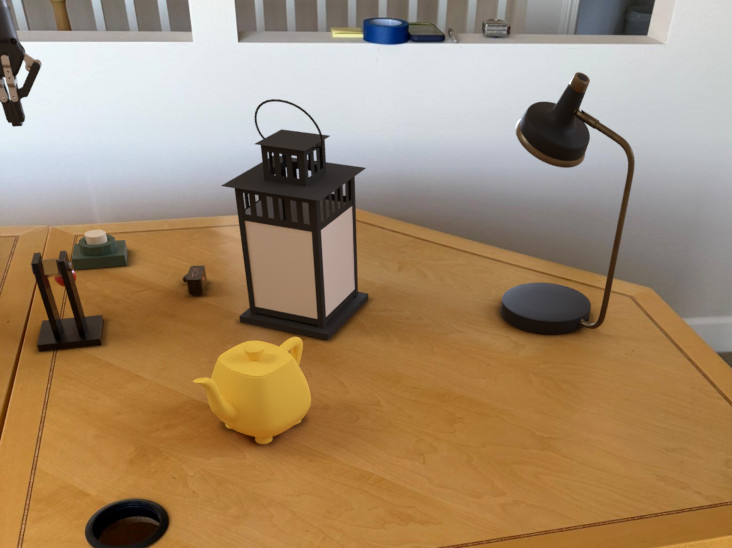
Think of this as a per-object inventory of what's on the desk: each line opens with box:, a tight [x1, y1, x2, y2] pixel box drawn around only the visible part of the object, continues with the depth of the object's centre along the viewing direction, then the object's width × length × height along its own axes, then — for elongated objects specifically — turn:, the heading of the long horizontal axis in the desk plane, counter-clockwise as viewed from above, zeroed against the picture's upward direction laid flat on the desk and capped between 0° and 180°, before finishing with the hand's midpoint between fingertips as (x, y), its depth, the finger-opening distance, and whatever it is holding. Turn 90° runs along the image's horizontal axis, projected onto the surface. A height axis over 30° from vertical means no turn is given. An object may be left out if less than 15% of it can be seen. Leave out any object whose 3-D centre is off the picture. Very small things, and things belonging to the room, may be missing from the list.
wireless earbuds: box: [182, 265, 208, 296], centre depth 146 cm, size 5×7×3 cm, turn 3°
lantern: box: [221, 98, 369, 341], centre depth 129 cm, size 17×17×35 cm
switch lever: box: [42, 257, 77, 288], centre depth 129 cm, size 13×4×4 cm
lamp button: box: [84, 229, 107, 245], centre depth 153 cm, size 4×4×2 cm
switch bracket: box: [30, 250, 105, 352], centre depth 128 cm, size 9×10×14 cm
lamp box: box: [71, 233, 129, 271], centre depth 155 cm, size 10×8×4 cm
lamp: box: [499, 71, 636, 336], centre depth 127 cm, size 16×22×38 cm
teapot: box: [192, 336, 312, 445], centre depth 109 cm, size 13×20×12 cm
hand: (18, 125), depth 132 cm, fingers closed
